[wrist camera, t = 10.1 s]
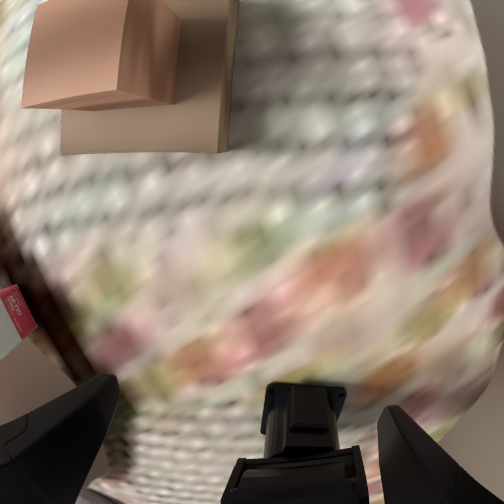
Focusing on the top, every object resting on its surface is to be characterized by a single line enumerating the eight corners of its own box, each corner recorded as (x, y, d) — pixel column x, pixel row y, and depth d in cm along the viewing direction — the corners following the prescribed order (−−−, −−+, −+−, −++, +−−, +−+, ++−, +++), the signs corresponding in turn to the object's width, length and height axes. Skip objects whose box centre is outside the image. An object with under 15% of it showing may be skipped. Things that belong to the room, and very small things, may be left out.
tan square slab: (227, 151, 18) (217, 153, 15) (86, 152, 19) (60, 155, 16) (239, 1, 15) (231, -19, 12) (98, 19, 15) (75, 8, 13)
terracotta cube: (173, 105, 15) (116, 89, 9) (93, 111, 15) (21, 108, 9) (181, 19, 13) (134, -28, 7) (101, 32, 13) (37, 5, 8)
